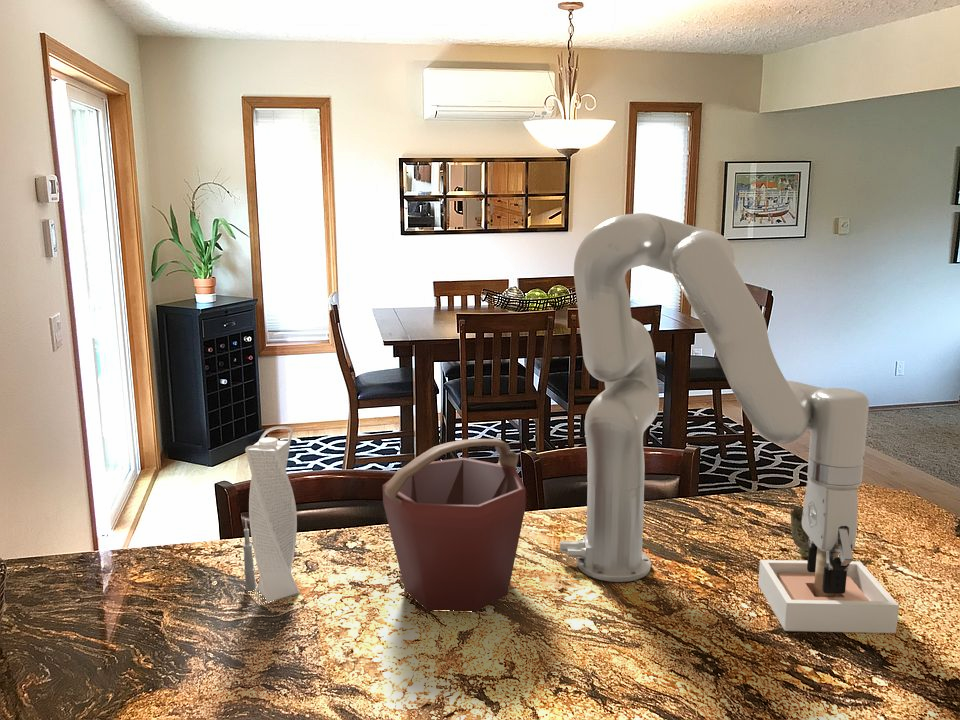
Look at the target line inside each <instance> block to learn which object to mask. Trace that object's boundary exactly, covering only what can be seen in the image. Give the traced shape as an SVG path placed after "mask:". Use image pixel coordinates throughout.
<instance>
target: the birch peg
mask: <svg viewBox="0 0 960 720" xmlns="http://www.w3.org/2000/svg"><path fill="white" fill-rule="evenodd" d="M833 548H839V544H834V546H833ZM832 554H833V560H834V559H835V558H836V557H839V553H832ZM824 567H827V561H826V551H821V550H820V549H819V548H818V547H817V557H816V569H815V581H814V593H813V595H814V596H815V597H834V596H835V593H824V592H823V590H822V585H823V574H824Z"/></svg>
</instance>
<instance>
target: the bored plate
mask: <svg viewBox="0 0 960 720" xmlns="http://www.w3.org/2000/svg"><path fill="white" fill-rule="evenodd" d="M777 578H778V579H779V581H780V582H781V584H782V586H783V587H784V589H785V590H786V592H787V593H788V595H789V596H790V598H791V600H834V601H869V600H868V598H867V597H866V596H865V595H864V594H863V592H862V591H861V590H860V589H859V588H858V586H857V585H856V584H855V583H854V581H853V580H852V579H851V578H850V577H849V575H848V574H847V577H846V588H845V593H843V594H837V593H835V596H834V597H815V596H814V595H813V593H814V581H815V573H778V576H777Z"/></svg>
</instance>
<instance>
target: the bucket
mask: <svg viewBox="0 0 960 720" xmlns="http://www.w3.org/2000/svg"><path fill="white" fill-rule="evenodd" d="M476 447H493V448H495V451H496V452H497V453H498V462H497V463H495V462H489V461H484V460H478V459H475V458H468V457H459V458H450V459H442V460H438V459H439V458H441V457H442V456H443V455H445V454H448V453H452V452H456V451H459V450H463V449H467V448H476ZM435 460H437V461H435ZM518 462H519V456H518V454H517V453H516V452H515V451H513V450H511V447H510V445H509V443H507V442H505V441H503V440H502V439H499V438H471V439H468V438H467V439H466V438H465V439H461V440H455V441H454V440H453V441H449V442H444V443H441V444H438V445H435V446H433V447H431V448H429V449H427V450H426V451H425V452H423V453H421V454H420V455H418V456H416V457H414V459H412V460H411V461H410V462H408V463H407V464H406V465H404V466H402V467H401V468H399V469H398V470H397V471H396V472H395V473H394V475H393V476H392V477H391V478H389V480H387V481H386V482H385V483H384V484H382V504H383V507H384V512H385V515H386V520H387V524H388V527H389V528H388V529H389V532H390V535H391V536H390V537H391V539H392V544H393V547H394V551H395V555H396V560H397V563H398V567H399V572H400V577H401V579H402V584H403V587H404V591H407V592H408V593H409V594H410V595H411V596H412V597H414V598H415V599H416V600H417V601H418V602H419V603H420V604H421V605H420V604H419V603H418V602H417V601H416V600H415V599H414V598H413V599H414V600H415V601H416V602H417V603H418V604H419V605H420V606H422V605H423V606H424V607H425V608H426V609H427V610H450V611H453V610H454V611H472V612H475V613H477V612H479V611H481V610H483V609H485V608H486V606H487V607H488V606H490V605H492V604H494V603H496V602H498V601H500V600H502V599H503V598H505V597H507V596H508V595H509V590H510V585H511V580H512V575H513V570H514V566H515V561H516V560H515V559H516V556H517V551H518V547H519V546H518V545H519V540H520V536H521V531H522V527H523V526H522V525H523V522H524V516H525V512H526V502H527V501H526V499H527V496H526V493H527V492H526V491H527V489H526V487H525V484H524V482H523V481H522V479H521V477H520V475H519V472H518V470H517V469H516V468H517V466H518ZM407 592H406V593H407ZM408 593H407V594H408ZM409 594H408V595H409ZM410 595H409V596H410ZM411 596H410V597H411ZM412 597H411V598H412ZM499 599H500V600H499ZM497 600H498V601H497ZM423 606H422V607H423ZM424 607H423V608H424ZM484 607H485V608H484ZM425 608H424V609H425ZM482 608H483V609H482ZM426 609H425V610H426ZM480 609H481V610H480ZM427 610H426V611H427ZM478 610H479V611H478ZM476 611H477V612H476Z"/></svg>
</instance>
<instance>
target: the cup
mask: <svg viewBox="0 0 960 720" xmlns="http://www.w3.org/2000/svg"><path fill="white" fill-rule="evenodd" d="M802 514H803V508H802V507H801V506H800V507H796V506H795V507H793V510H792V509H790V527H791V530H790V531H791V537H792V540H793V542H794V544H795V545H796V547H798V548H799V549H798V552H799V555H800V556H801V557H802V558H804V559H807V560H808V550H809V547H810V546H809V543H808V541H809V536H808V535H807V534H806V532H805V531H804V530H803V528H802Z"/></svg>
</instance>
